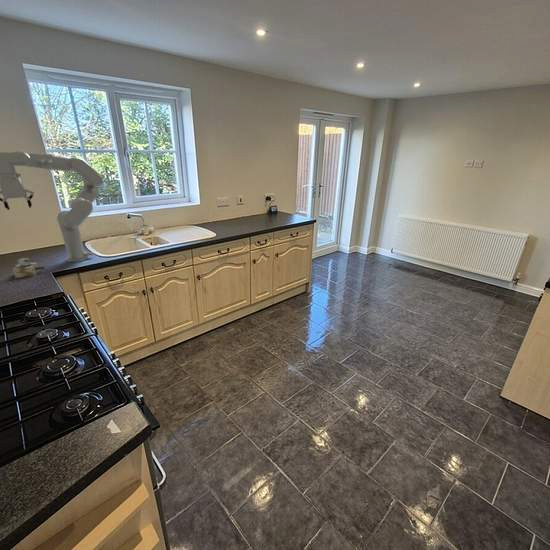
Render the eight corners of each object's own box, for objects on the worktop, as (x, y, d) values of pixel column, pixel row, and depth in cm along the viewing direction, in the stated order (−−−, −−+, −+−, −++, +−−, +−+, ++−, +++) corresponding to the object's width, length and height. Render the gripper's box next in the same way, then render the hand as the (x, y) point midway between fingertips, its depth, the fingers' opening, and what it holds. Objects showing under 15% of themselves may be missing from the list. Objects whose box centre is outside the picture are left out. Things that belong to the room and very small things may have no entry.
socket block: (46, 269, 179) (44, 261, 177) (43, 274, 171) (41, 265, 169) (19, 272, 173) (17, 264, 172) (15, 277, 166) (12, 269, 164)
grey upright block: (25, 272, 174) (20, 257, 170) (35, 272, 173) (30, 258, 170) (20, 274, 170) (15, 259, 167) (30, 275, 170) (25, 260, 167)
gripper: (28, 175, 169) (38, 205, 176) (-12, 177, 160) (0, 209, 167) (28, 176, 164) (38, 207, 170) (-14, 178, 155) (-2, 211, 161)
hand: (19, 208), depth 169 cm, fingers open, 9 cm apart
